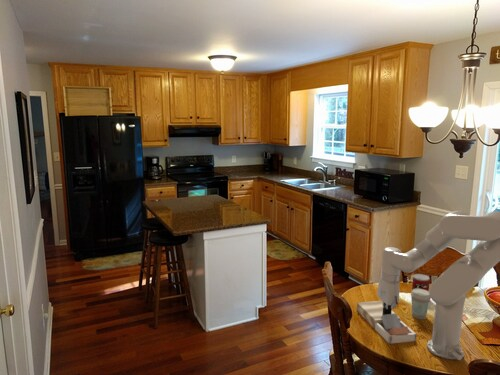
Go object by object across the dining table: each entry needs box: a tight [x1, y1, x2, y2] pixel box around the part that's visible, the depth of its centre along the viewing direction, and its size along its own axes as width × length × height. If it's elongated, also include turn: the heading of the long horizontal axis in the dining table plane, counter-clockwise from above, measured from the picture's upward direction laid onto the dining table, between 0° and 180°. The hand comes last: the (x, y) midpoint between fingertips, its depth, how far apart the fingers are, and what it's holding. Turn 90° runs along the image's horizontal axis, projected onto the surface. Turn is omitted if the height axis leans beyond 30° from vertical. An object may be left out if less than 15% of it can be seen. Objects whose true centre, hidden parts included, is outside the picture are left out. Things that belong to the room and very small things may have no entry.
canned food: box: [411, 273, 431, 292], centre depth 194 cm, size 8×8×11 cm
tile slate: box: [381, 313, 401, 332], centre depth 161 cm, size 6×6×2 cm
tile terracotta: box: [387, 326, 409, 335], centre depth 156 cm, size 6×6×2 cm
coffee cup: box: [410, 289, 432, 320], centre depth 174 cm, size 8×8×12 cm
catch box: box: [374, 319, 417, 344], centre depth 159 cm, size 11×12×3 cm
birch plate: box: [356, 300, 401, 330], centre depth 173 cm, size 16×12×4 cm
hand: (386, 316), depth 165 cm, fingers closed
